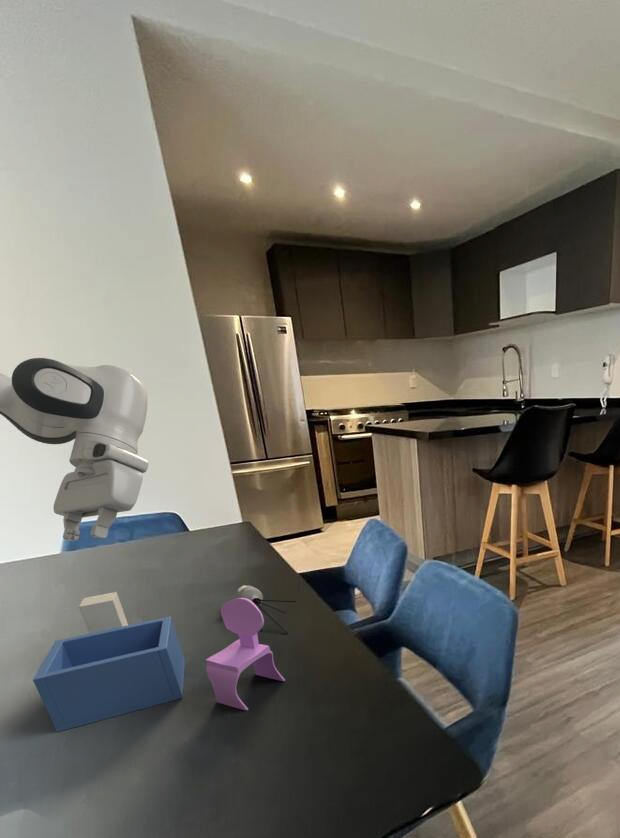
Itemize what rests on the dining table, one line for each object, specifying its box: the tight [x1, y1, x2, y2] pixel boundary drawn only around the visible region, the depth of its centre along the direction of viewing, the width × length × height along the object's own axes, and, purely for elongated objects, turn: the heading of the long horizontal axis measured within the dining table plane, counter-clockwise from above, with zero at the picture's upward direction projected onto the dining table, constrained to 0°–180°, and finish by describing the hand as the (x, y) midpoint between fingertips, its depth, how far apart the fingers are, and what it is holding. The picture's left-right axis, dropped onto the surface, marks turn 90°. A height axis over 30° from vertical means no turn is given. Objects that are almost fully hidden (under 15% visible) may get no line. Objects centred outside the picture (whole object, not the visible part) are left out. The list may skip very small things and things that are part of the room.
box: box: [32, 615, 186, 733], centre depth 77 cm, size 16×12×9 cm
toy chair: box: [205, 598, 286, 712], centre depth 74 cm, size 8×9×15 cm
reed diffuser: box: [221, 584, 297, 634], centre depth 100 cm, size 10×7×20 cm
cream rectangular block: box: [78, 591, 129, 634], centre depth 88 cm, size 5×4×12 cm
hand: (83, 538), depth 81 cm, fingers open, 8 cm apart
